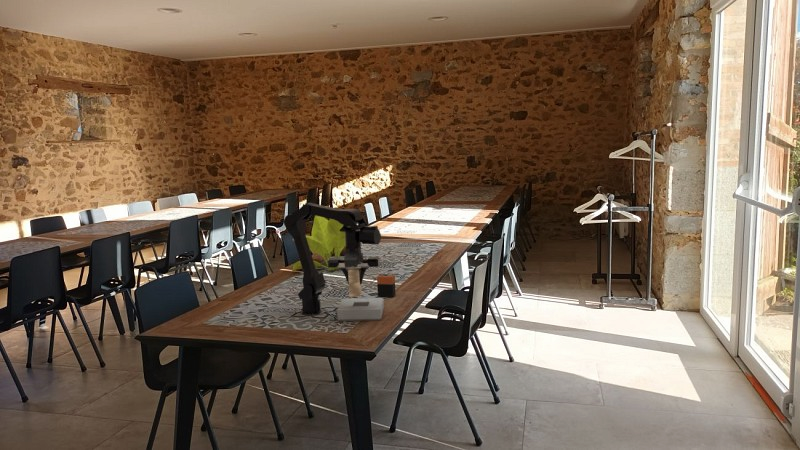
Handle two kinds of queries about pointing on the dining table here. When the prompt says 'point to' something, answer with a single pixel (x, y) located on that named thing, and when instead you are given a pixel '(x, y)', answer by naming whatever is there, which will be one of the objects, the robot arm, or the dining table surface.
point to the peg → (354, 282)
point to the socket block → (360, 309)
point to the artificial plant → (325, 240)
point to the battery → (386, 285)
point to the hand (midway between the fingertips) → (355, 284)
